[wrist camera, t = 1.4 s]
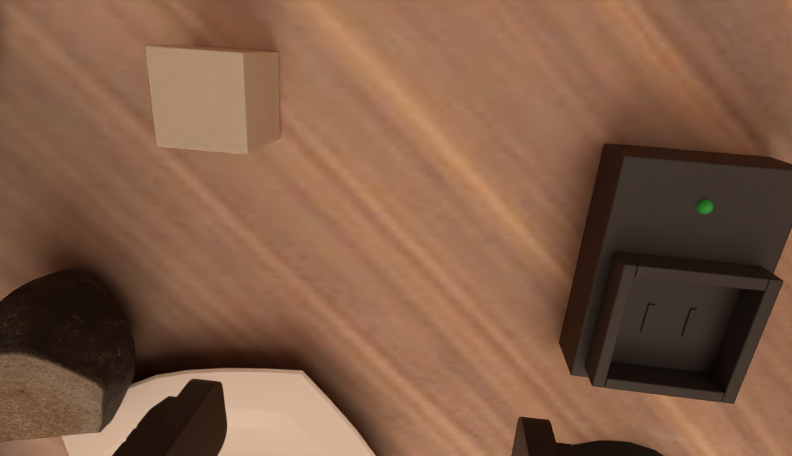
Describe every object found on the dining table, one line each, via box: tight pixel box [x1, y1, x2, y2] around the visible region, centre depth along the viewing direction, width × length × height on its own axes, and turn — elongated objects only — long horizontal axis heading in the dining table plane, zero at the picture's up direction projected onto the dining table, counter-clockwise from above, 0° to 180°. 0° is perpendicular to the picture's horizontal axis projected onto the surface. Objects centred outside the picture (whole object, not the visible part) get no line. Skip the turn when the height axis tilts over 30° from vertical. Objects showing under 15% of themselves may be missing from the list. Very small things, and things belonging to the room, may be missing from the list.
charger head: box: [145, 45, 280, 155], centre depth 23 cm, size 4×4×4 cm
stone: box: [0, 269, 135, 441], centre depth 27 cm, size 8×8×10 cm
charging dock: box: [559, 144, 792, 404], centre depth 23 cm, size 12×8×4 cm, turn 176°
